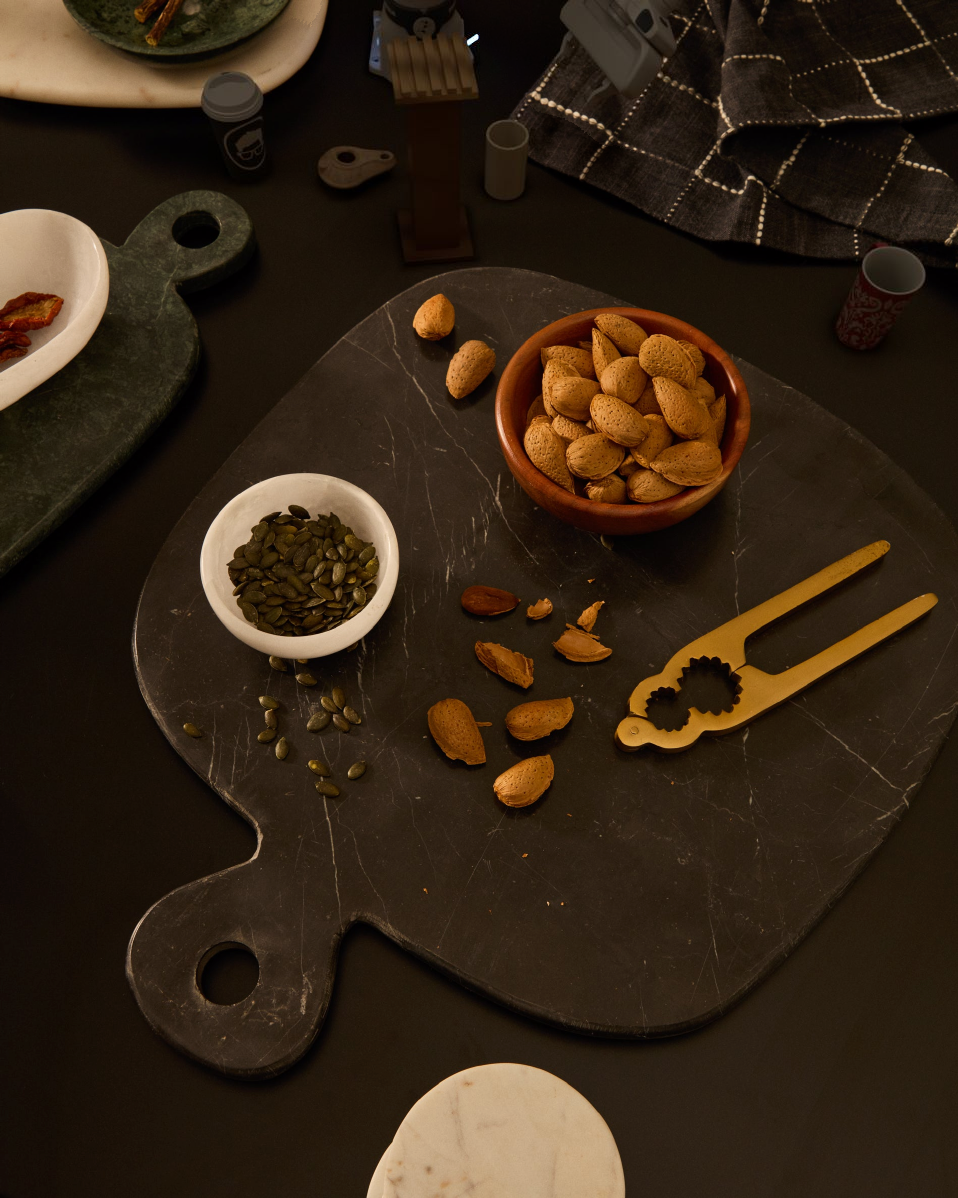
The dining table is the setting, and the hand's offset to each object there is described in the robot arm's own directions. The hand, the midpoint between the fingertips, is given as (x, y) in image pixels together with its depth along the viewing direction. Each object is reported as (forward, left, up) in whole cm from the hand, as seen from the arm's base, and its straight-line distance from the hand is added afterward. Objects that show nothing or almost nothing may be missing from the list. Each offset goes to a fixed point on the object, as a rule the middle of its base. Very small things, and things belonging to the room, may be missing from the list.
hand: (572, 84), depth 151 cm
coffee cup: (-6, -52, -16) cm, 55 cm away
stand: (+13, -23, -15) cm, 31 cm away
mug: (+39, +40, -16) cm, 58 cm away
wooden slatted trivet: (+13, -23, +15) cm, 31 cm away
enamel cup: (+3, -10, -15) cm, 19 cm away
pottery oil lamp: (-1, -34, -16) cm, 38 cm away
